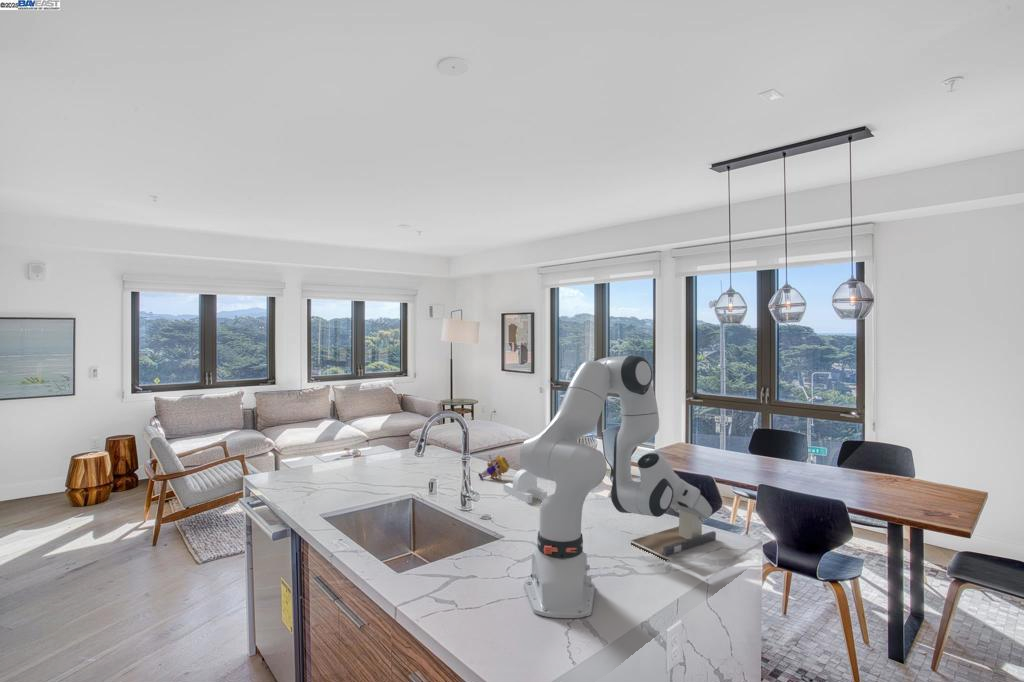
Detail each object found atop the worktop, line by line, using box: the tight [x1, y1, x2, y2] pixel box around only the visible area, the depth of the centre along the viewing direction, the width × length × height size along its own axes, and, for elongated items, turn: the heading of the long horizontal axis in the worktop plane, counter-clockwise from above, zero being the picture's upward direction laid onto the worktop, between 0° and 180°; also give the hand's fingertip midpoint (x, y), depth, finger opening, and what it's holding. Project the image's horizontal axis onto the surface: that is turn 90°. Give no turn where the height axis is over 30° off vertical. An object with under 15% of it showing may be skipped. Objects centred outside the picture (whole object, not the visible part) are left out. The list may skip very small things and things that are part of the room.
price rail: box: [662, 530, 717, 557], centre depth 158 cm, size 1×24×2 cm, turn 123°
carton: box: [678, 510, 703, 539], centre depth 167 cm, size 5×5×10 cm
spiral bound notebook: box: [630, 525, 687, 562], centre depth 164 cm, size 14×24×2 cm, turn 123°
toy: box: [478, 454, 510, 482], centre depth 237 cm, size 14×8×15 cm
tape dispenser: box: [503, 468, 548, 504], centre depth 212 cm, size 18×10×11 cm, turn 33°
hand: (691, 515), depth 167 cm, fingers open, 8 cm apart
